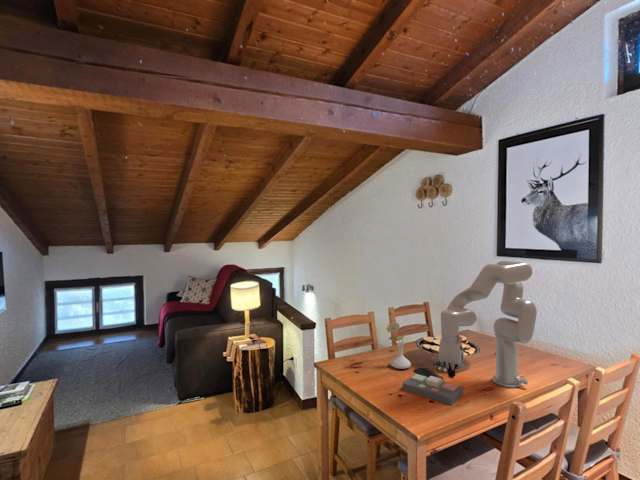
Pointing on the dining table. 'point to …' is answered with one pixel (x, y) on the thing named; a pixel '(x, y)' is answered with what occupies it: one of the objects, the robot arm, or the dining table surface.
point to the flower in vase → (399, 359)
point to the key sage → (419, 378)
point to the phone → (426, 372)
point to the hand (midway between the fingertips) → (451, 376)
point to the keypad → (432, 391)
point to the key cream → (434, 381)
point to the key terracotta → (450, 387)
